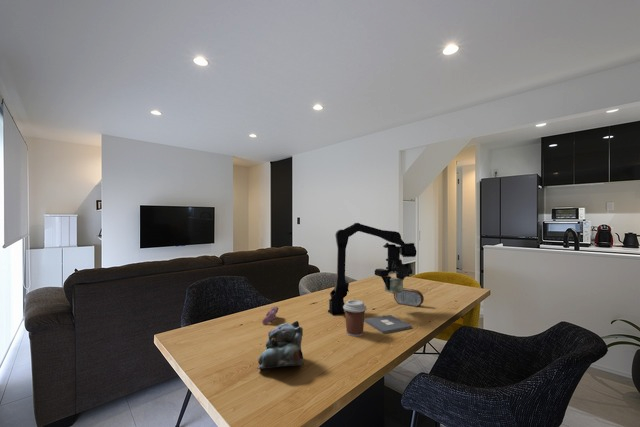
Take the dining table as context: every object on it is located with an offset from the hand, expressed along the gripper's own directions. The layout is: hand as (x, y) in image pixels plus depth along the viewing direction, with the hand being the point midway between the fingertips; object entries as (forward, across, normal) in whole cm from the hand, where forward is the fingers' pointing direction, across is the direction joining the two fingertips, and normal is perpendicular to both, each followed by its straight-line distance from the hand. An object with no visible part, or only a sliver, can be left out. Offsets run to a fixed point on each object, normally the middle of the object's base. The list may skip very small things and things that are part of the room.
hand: (393, 289), depth 133 cm
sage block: (+1, 0, 0) cm, 1 cm away
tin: (+11, +14, +6) cm, 19 cm away
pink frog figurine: (+11, -57, +12) cm, 60 cm away
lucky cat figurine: (+11, -63, -26) cm, 69 cm away
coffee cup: (+11, -30, -14) cm, 35 cm away
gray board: (+11, -13, -12) cm, 21 cm away
